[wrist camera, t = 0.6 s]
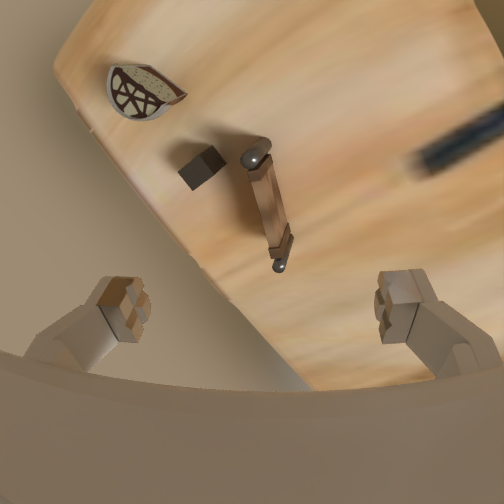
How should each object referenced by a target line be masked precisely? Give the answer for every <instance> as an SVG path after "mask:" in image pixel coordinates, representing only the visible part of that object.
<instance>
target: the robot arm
mask: <svg viewBox="0 0 504 504" xmlns="http://www.w3.org/2000/svg"><path fill="white" fill-rule="evenodd" d="M378 285H379V289H378V290H377V291H376V292H375V298H374V309H375V315H376V319H377V320H378V321H379V322H380V325H379V332H380V337H381V341H382V344H394V343H406V345H407V346H408V347H409V348H410V349H411V350H412V351H413V352H414V353H415V354H416V355H417V356H418V357H419V359H420V360H421V361H422V362H423V363H424V364H425V365H426V366H427V367H428V368H429V370H430V371H431V372H432V373H433V374H434V375H435V376H436V378H435V380H429V381H422V382H415V383H408V384H400V385H391V386H382V387H372V388H360V389H346V390H328V391H298V392H265V391H233V390H216V389H202V388H190V387H180V386H170V385H161V384H153V383H146V382H139V381H132V380H125V379H119V378H113V377H107V376H102V375H96V374H91V373H87V372H88V371H89V370H91V368H92V367H94V366H95V365H96V364H97V363H98V362H99V361H100V360H101V359H102V358H103V357H104V356H105V355H106V354H107V353H108V352H109V351H110V350H111V349H112V348H114V347H115V346H116V345H117V344H118V342H131V343H138V342H139V340H140V337H141V335H142V333H143V330H144V328H143V325H142V324H144V323H145V322H146V321H147V320H148V319H149V316H150V312H151V303H150V299H149V296H148V295H147V294H146V293H145V292H144V291H143V288H144V284H143V282H142V280H141V278H139V277H120V276H115V277H111V276H105V277H103V278H101V280H100V281H99V283H98V284H97V286H96V287H95V289H94V290H93V292H92V293H91V295H90V296H89V298H88V299H87V301H86V303H85V304H84V305H80V306H78V307H77V308H75V309H74V310H72V311H71V312H69V313H68V314H66V315H65V316H63V317H62V318H61V319H59V320H58V321H56V322H55V323H53V324H52V325H50V326H49V327H47V328H46V329H45V330H43V331H42V332H40V333H39V334H37V335H36V337H35V338H34V340H33V341H32V343H31V345H30V346H29V348H28V350H27V351H26V353H25V355H24V356H23V357H20V356H17V355H14V354H10V353H7V352H4V351H1V350H0V504H504V364H503V362H502V359H501V357H500V355H499V352H498V350H497V348H496V345H495V343H494V341H493V339H492V337H491V336H489V335H488V334H487V333H485V332H484V331H483V330H482V329H480V328H479V327H478V326H476V325H475V324H474V323H472V322H471V321H469V320H468V319H467V318H465V317H464V316H463V315H461V314H460V313H459V312H457V311H456V310H454V309H453V308H452V307H450V306H449V305H447V304H446V303H445V302H443V301H438V299H437V296H436V294H435V292H434V290H433V288H432V286H431V284H430V282H429V280H428V278H427V275H426V273H425V271H424V270H423V269H409V270H398V271H380V273H379V276H378Z"/></svg>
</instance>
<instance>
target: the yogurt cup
mask: <svg viewBox="0 0 504 504" xmlns="http://www.w3.org/2000/svg"><path fill="white" fill-rule="evenodd" d="M117 65H118V64H114V65H113V66H111V68H110V70H109V73H108V77H107V94H108V98H109V100H110V103H111V104H112V106H113V108H114V109H115V110H116V111H117V112H118V113H119V114H120V115H122V116H123V117H125V118H128V119H130V120H134V121H149V120H153V119H156V118H158V117H160V116H161V115H163V114H164V113H165V112H166V111H167V110H168V109H169V108H170V107H171V106H172V105H174V104H176V103H178V102H180V101H181V100H183V99H184V98H185V97H186V95H187V93H186V92H185V91H184V90H182V89H181V88H180V87H178V86H177V85H176V84H174V83H173V82H172V81H171V80H169V79H168V78H167V77H165V76H164V75H163V74H161V73H160V72H159V71H157V70H156V69H154V68H153V67H152V66H150V65H123V66H117Z"/></svg>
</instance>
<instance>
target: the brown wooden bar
mask: <svg viewBox="0 0 504 504" xmlns="http://www.w3.org/2000/svg"><path fill="white" fill-rule="evenodd" d="M247 173H248V177H249V180H250V182H251V184H252V187H253V191H254V194H255V198H256V202H257V205H258V209H259V212H260V216H261V219H262V223H263V226H264V230H265V234H266V237H267V241H268V244H269V249H268V250H269V254H270V257H271V259H276V258H282V257H283V254H284V251H285V248H286V244H287V241H288V238H289V235H290V232H291V231H290V227H289V223H287V219H286V215H285V211H284V207H283V203H282V199H281V195H280V191H279V187H278V183H277V179H276V175H275V171H274V168H273V161H272V157H271V154H267V155H265V156H264V157H263V158H262V159H261V161H260V162H259V163H258V164H257V165H256V166H255V167H254V168H252V169H249V170H248V171H247Z"/></svg>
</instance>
